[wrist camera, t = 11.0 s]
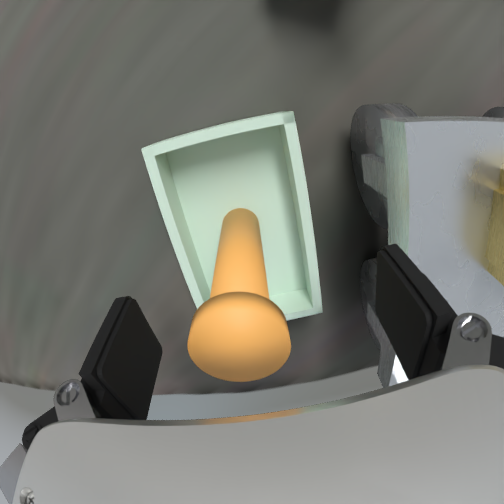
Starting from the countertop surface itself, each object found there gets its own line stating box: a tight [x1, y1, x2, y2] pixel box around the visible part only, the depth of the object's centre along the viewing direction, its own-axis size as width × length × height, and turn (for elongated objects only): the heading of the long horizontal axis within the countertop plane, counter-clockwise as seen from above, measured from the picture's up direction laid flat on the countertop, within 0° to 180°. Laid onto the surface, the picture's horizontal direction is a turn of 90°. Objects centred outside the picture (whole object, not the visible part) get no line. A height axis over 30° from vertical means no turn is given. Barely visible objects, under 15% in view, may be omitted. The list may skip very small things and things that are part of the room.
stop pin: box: [188, 208, 291, 382], centre depth 14 cm, size 3×3×11 cm
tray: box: [142, 111, 323, 321], centre depth 18 cm, size 13×8×3 cm, turn 12°
